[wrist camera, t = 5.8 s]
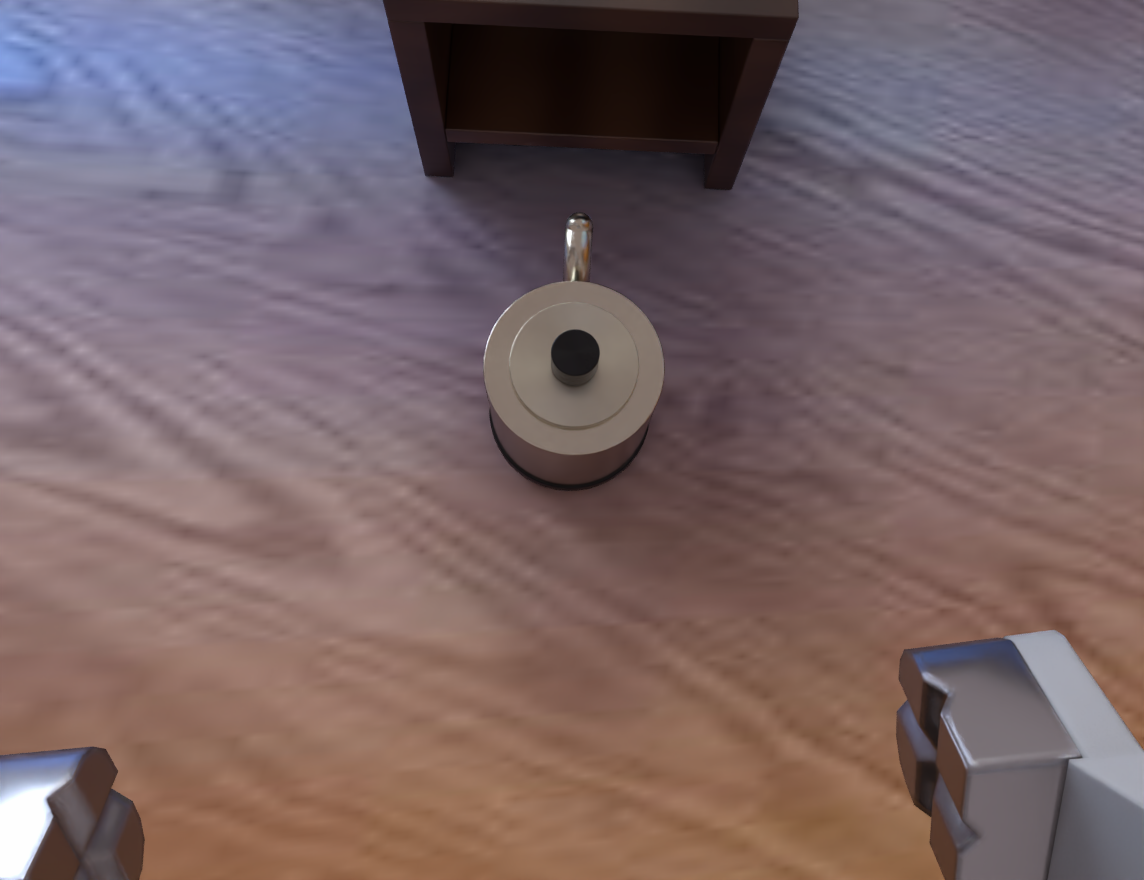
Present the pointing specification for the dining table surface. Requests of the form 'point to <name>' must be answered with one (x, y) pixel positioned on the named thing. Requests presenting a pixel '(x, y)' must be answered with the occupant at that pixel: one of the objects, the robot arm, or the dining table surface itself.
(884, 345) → the dining table surface
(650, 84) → the stand
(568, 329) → the kettle
